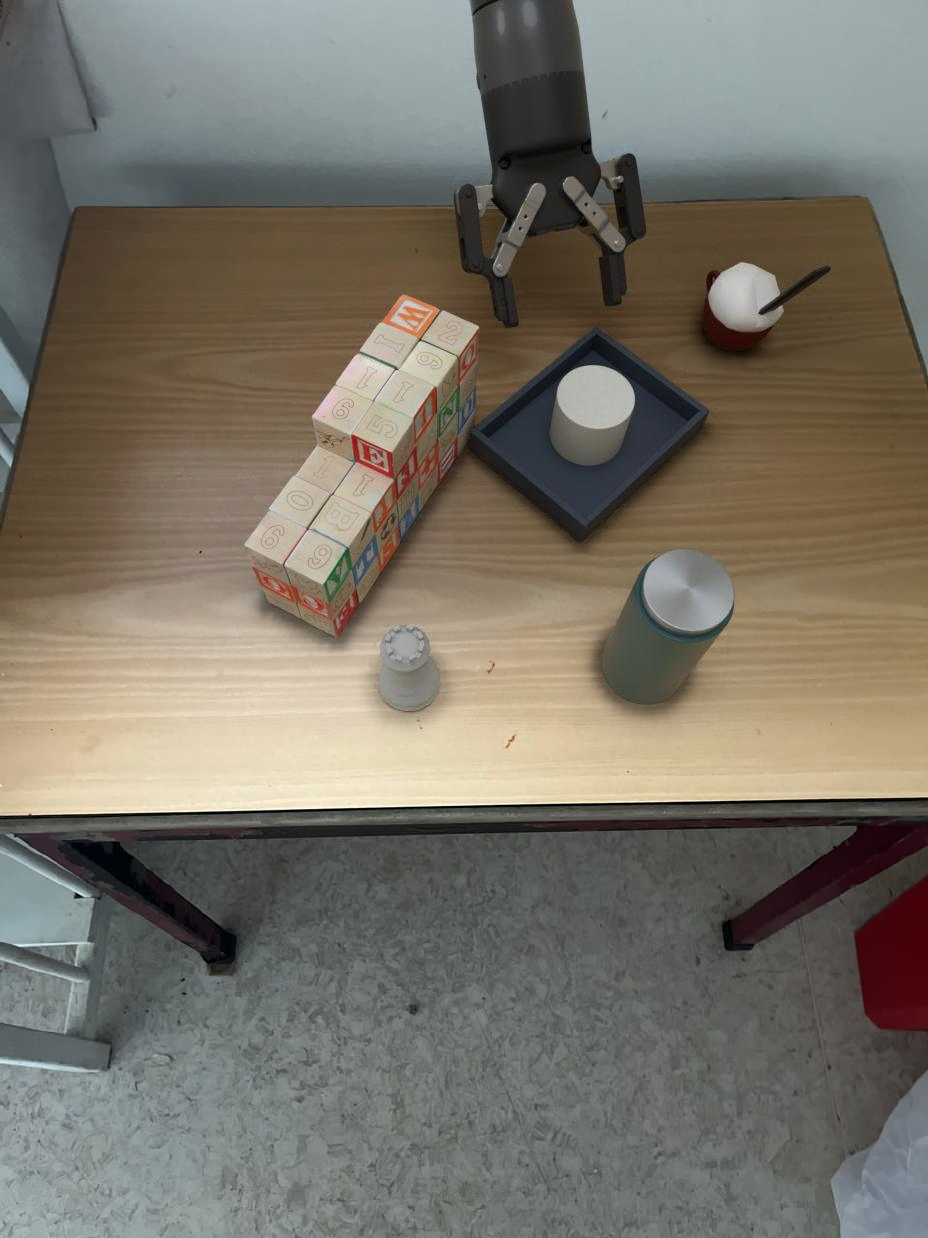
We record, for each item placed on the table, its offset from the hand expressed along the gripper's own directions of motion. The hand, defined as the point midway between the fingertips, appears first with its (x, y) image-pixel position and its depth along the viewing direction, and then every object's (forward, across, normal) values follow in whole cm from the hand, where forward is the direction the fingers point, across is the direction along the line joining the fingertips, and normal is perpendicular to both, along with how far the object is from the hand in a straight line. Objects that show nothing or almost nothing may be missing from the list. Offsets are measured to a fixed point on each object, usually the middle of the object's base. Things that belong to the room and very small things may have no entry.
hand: (563, 315), depth 67 cm
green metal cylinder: (+24, -3, -15) cm, 28 cm away
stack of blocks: (+11, -18, -2) cm, 22 cm away
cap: (+9, 0, -2) cm, 9 cm away
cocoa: (+5, +16, +3) cm, 17 cm away
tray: (+10, 0, -1) cm, 10 cm away
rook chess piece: (+22, -19, -13) cm, 32 cm away
